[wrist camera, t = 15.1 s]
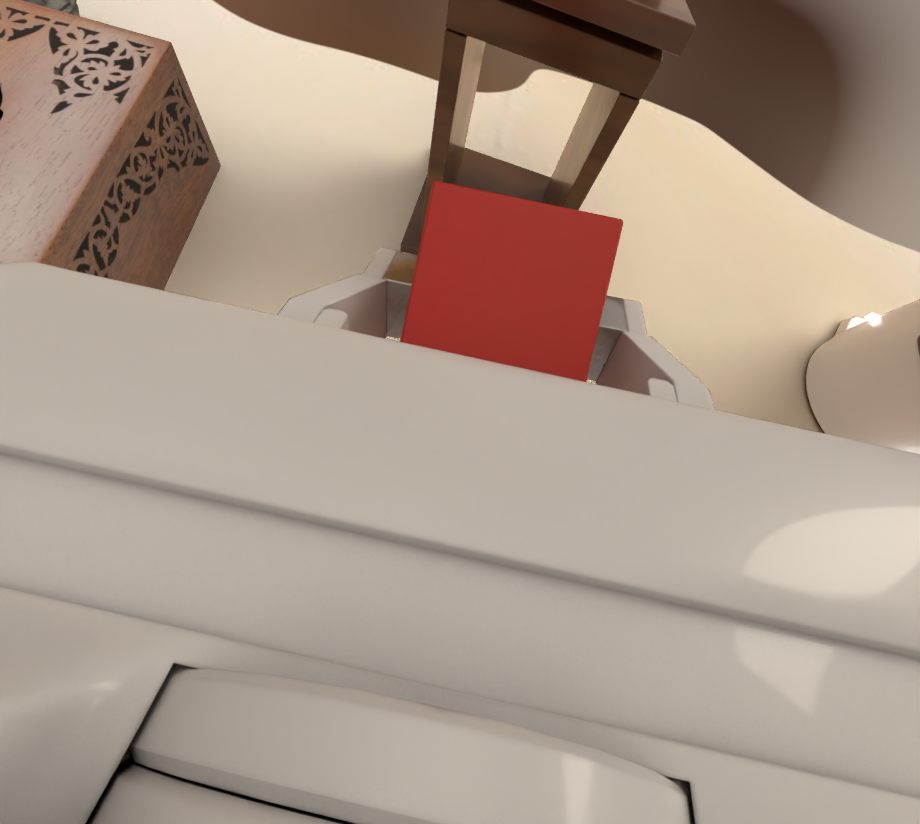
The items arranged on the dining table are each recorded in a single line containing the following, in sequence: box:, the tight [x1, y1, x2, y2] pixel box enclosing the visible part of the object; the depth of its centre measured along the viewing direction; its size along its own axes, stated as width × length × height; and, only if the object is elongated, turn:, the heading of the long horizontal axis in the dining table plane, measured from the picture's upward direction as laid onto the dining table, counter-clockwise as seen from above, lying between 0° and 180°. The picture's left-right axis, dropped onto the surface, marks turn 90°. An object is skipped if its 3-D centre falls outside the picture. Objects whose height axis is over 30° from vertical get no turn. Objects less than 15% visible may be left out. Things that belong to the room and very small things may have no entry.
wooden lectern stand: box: [401, 0, 696, 255], centre depth 32 cm, size 14×14×23 cm
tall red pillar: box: [400, 181, 623, 382], centre depth 19 cm, size 20×4×9 cm
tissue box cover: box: [0, 0, 221, 290], centre depth 29 cm, size 26×14×10 cm, turn 171°
